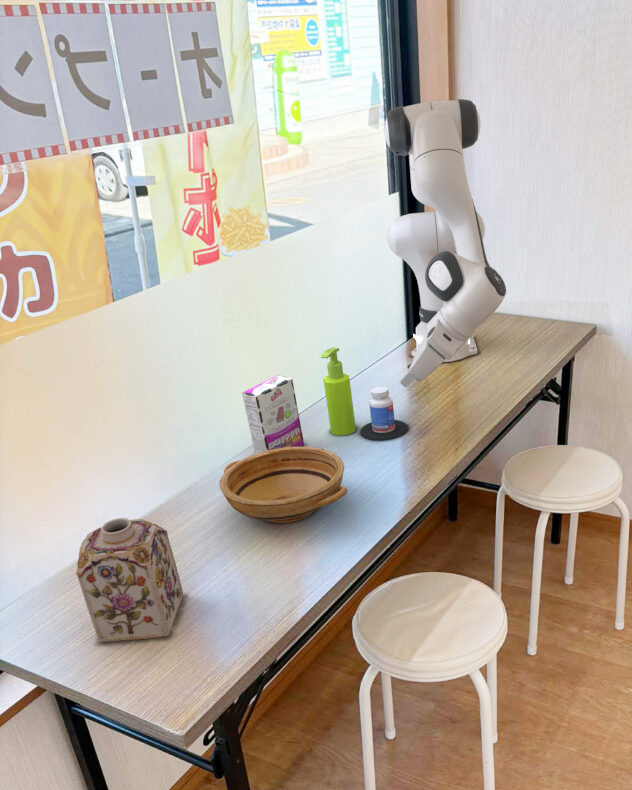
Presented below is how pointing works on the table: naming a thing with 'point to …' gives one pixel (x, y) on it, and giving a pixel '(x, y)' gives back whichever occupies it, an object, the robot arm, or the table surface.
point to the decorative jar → (129, 580)
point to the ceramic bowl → (283, 483)
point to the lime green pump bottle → (338, 396)
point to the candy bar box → (273, 415)
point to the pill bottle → (381, 410)
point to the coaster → (397, 432)
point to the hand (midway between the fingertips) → (406, 376)
